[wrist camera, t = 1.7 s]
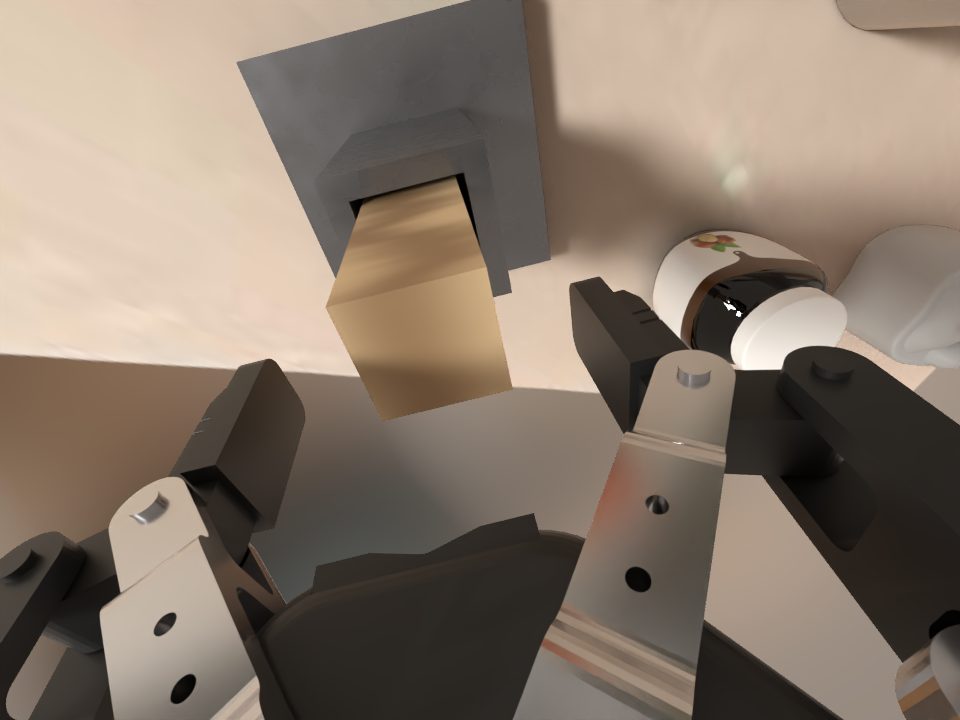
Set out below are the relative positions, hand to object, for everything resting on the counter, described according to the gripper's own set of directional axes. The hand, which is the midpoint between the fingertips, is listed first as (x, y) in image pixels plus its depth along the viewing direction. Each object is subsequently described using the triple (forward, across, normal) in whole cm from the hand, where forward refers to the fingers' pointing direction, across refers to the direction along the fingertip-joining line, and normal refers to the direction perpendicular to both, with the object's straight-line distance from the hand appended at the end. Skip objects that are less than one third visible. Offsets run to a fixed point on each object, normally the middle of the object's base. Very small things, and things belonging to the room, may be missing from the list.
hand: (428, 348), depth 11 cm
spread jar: (+22, -20, +15) cm, 34 cm away
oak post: (+20, 0, 0) cm, 20 cm away
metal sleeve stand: (+22, 0, 0) cm, 22 cm away
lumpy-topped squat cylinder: (+22, -42, +20) cm, 52 cm away
